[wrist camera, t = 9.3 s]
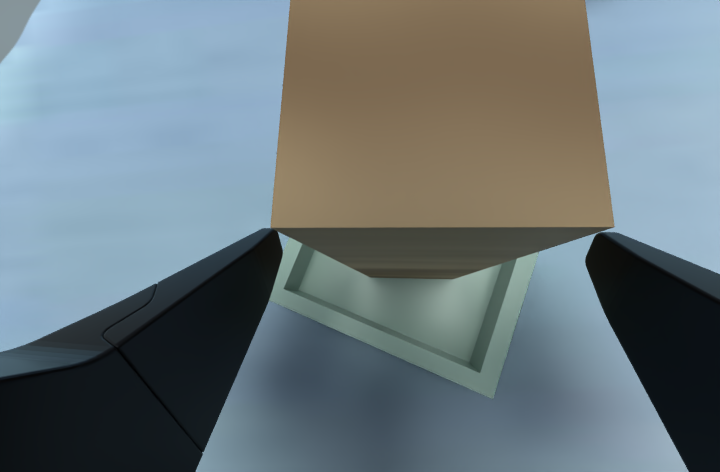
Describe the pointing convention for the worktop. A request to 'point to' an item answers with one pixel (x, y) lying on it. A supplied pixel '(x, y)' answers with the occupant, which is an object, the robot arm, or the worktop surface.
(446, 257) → the walnut post
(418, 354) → the tray
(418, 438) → the worktop surface
